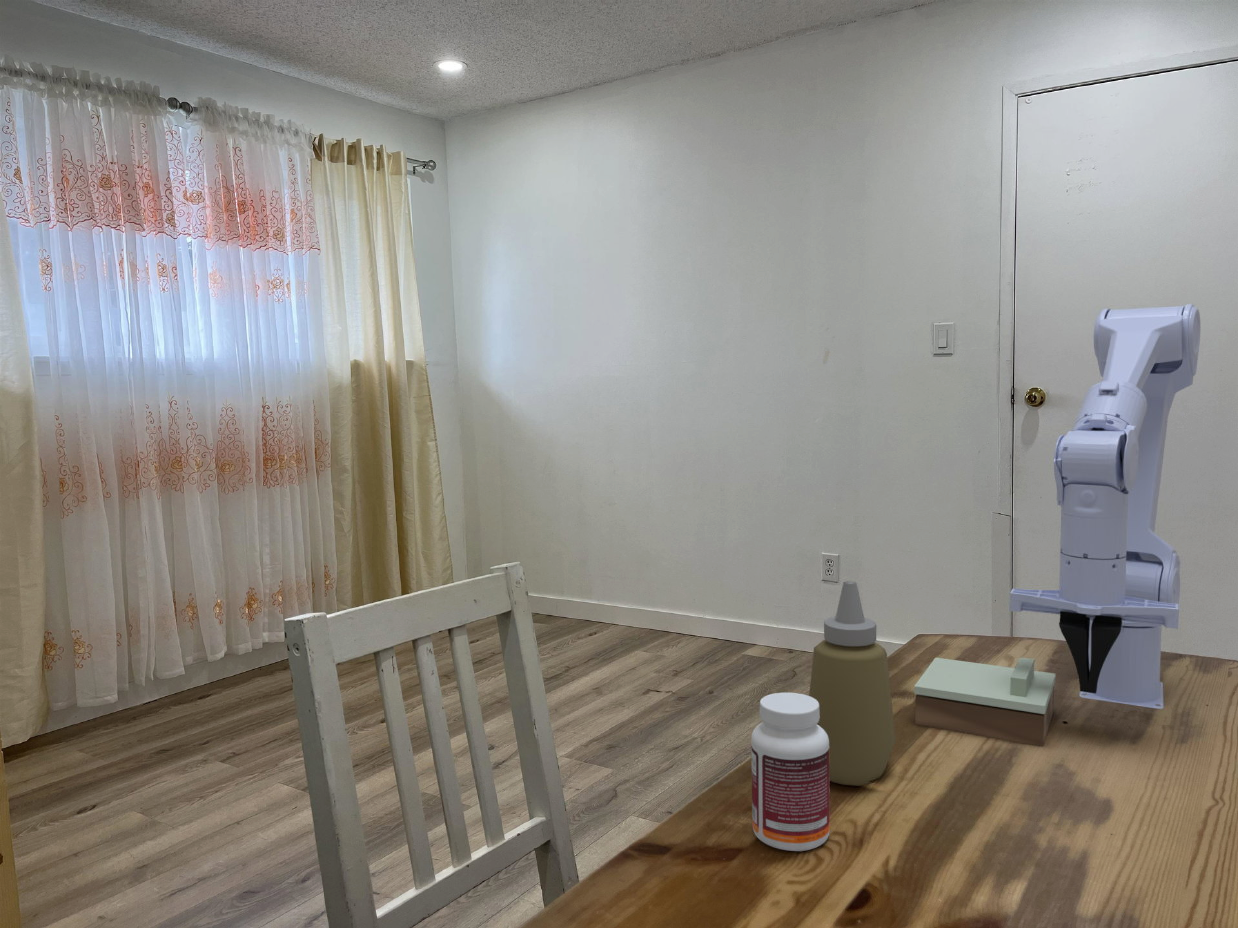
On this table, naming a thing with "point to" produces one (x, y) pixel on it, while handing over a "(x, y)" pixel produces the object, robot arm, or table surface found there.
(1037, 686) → the lid
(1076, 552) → the robot arm
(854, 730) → the squeeze bottle
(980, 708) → the walnut box
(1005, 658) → the table surface
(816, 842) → the pill bottle
